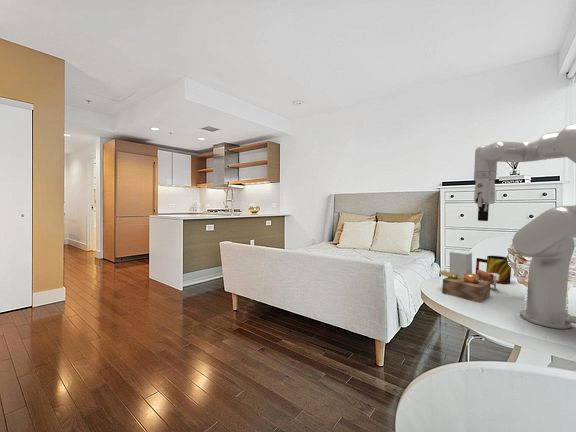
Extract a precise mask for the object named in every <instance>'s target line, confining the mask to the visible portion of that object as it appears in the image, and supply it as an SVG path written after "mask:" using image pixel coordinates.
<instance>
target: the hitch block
mask: <svg viewBox="0 0 576 432" xmlns="http://www.w3.org/2000/svg"><path fill="white" fill-rule="evenodd" d="M490 284H491V282H487V281H483V280H479V281H478V283H477V284H473V283H467V282H465V281H464V277H463V276H458V277H456V278H454V279H452V278H450V277H447V276H446V277H445V278H443V279H442V288H441V289H442V291H441V292H442V293H443V294H444V295H449V296H452V297H456V298H461V299H465V300H469V301H472V302H476V303H479V304H481V303H482V302H483V301H485V300H486V299H488V298H489V297H491V285H490Z"/></svg>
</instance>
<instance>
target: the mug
mask: <svg viewBox="0 0 576 432" xmlns="http://www.w3.org/2000/svg"><path fill="white" fill-rule="evenodd" d="M486 258H487V259H486ZM486 258H485V259H484V258H479V257H476V261H475V262H476V263H475V272H476V271H477V270H480V263H485V264H486V270H485V272H488V273H496V274H499V275H502V277H499V281H497V282H496V285H497V284H498V285H510V284H511V277H512V276H511V275H512V272H511V271H512V266H511V267H510V266H509V265H508V261H507V257H506V256H501V255H487V257H486Z"/></svg>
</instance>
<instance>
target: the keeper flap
mask: <svg viewBox="0 0 576 432" xmlns="http://www.w3.org/2000/svg"><path fill="white" fill-rule="evenodd" d="M439 275H441V276H444V277H446V278H447V277H450V278H452V279H454V278H456V277H458V274H454V273H451V272H450V271H449V270H448V271H447V270H444V269H443V270H441V271H439Z"/></svg>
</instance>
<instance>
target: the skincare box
mask: <svg viewBox="0 0 576 432" xmlns="http://www.w3.org/2000/svg"><path fill="white" fill-rule="evenodd" d="M449 272H451V273H454V274H458V276H463V277H464V273H472V274H473V252H472V251H471V252H470V251H462V250H461V251H459V250H452V251H449Z"/></svg>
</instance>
